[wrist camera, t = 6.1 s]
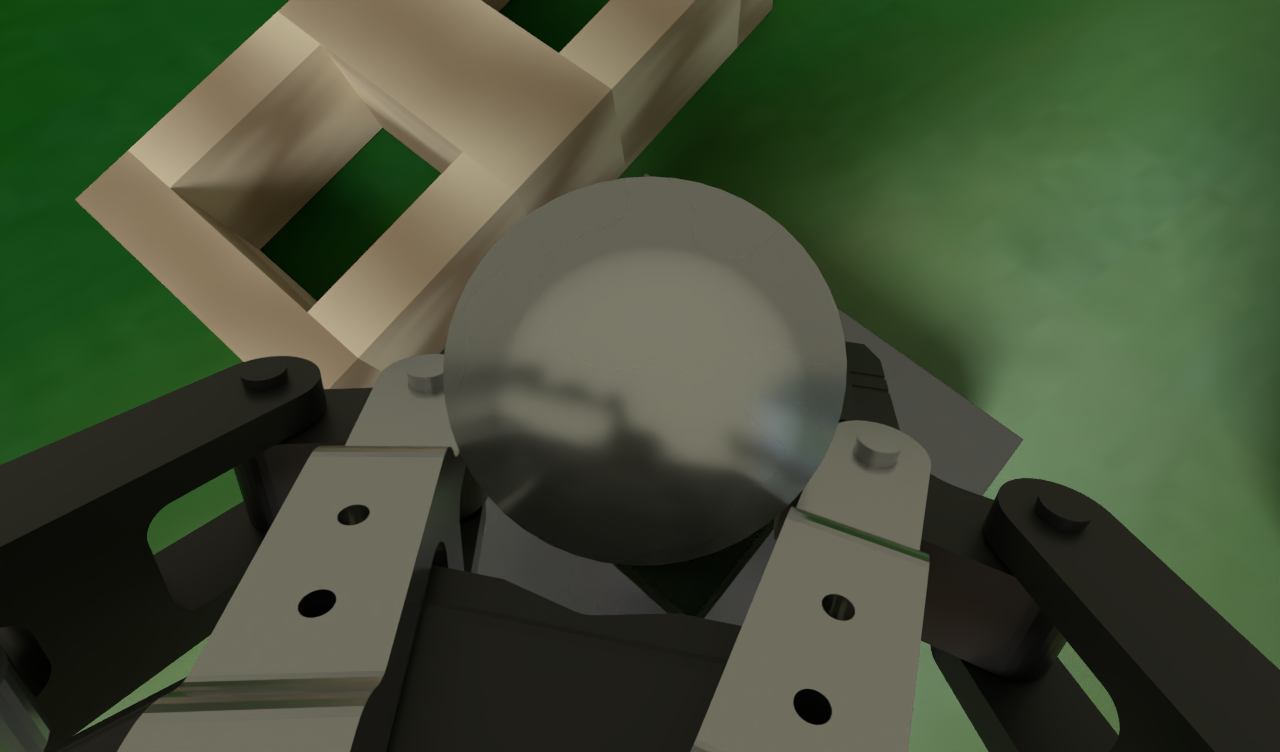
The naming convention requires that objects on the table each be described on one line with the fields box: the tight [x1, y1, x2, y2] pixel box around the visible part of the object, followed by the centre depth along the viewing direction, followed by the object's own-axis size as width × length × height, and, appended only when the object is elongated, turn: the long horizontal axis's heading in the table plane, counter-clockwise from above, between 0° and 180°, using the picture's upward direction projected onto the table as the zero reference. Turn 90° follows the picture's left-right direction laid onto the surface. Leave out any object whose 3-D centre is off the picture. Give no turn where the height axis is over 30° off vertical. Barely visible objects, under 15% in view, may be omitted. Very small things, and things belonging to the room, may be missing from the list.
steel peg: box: [443, 177, 847, 566], centre depth 12 cm, size 4×4×12 cm
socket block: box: [477, 173, 1023, 626], centre depth 18 cm, size 12×12×3 cm
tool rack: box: [75, 0, 773, 389], centre depth 21 cm, size 20×10×4 cm, turn 140°
